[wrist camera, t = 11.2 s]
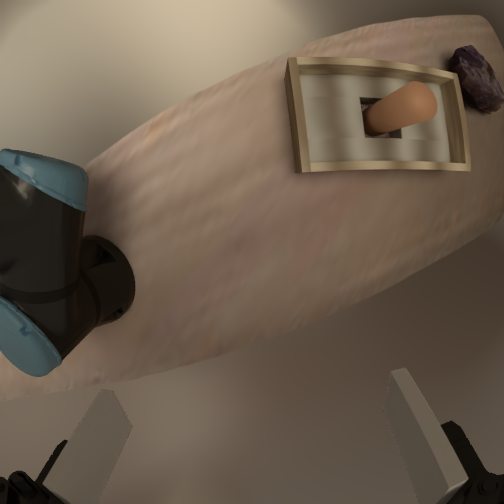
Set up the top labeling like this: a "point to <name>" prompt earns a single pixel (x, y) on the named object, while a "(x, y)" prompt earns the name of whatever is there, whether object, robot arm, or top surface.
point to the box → (351, 122)
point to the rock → (477, 80)
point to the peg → (400, 109)
